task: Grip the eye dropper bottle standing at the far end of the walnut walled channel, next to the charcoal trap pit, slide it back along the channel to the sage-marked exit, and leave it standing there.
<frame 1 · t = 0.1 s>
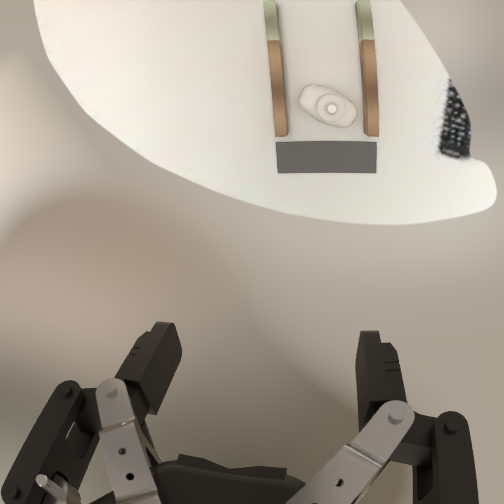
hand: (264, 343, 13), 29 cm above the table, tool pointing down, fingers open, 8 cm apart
walnut channel: (322, 66, 32), on the table
trap pit: (327, 156, 37), on the table
eye dropper bottle: (324, 103, 34), on the table
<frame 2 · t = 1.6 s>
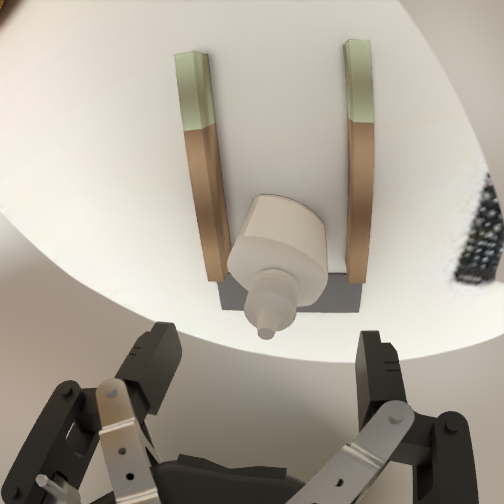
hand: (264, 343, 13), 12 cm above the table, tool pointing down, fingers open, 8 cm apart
walnut channel: (283, 160, 22), on the table
trap pit: (289, 292, 27), on the table
eye dropper bottle: (286, 218, 24), on the table
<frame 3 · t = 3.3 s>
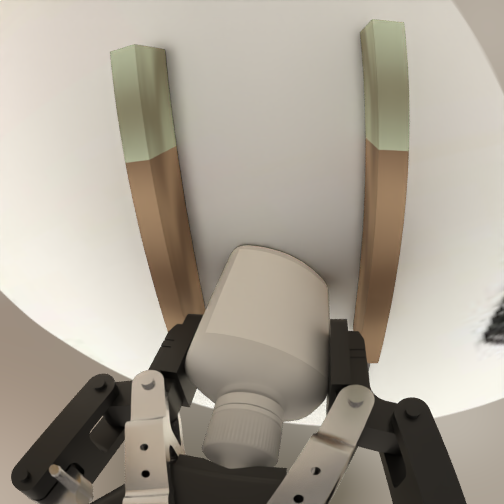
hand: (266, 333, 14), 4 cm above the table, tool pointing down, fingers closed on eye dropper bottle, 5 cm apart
walnut channel: (271, 199, 16), on the table
eye dropper bottle: (277, 275, 18), on the table, touching gripper
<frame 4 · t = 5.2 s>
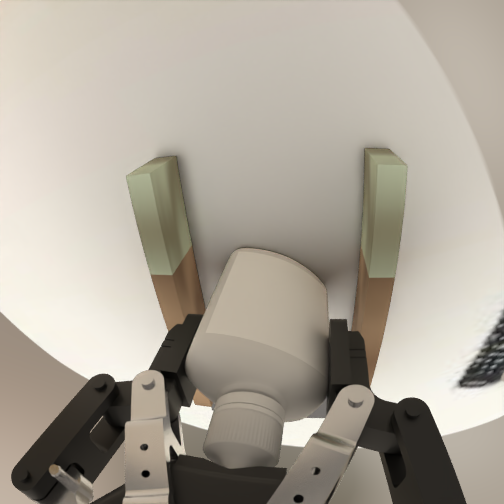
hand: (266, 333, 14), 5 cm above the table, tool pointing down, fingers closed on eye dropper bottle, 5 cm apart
walnut channel: (276, 291, 18), on the table
eye dropper bottle: (275, 278, 18), on the table, touching gripper
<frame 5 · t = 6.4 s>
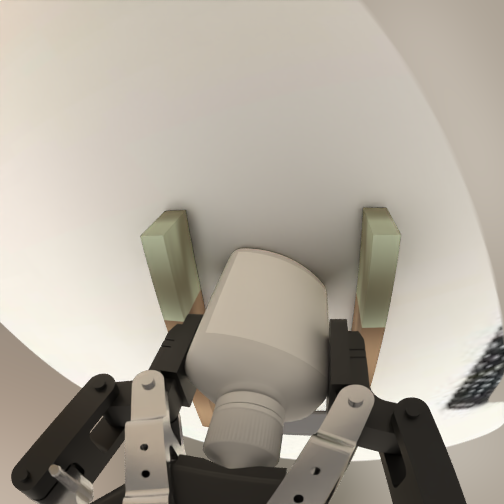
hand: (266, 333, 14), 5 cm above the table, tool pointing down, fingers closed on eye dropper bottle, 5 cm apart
walnut channel: (278, 330, 20), on the table
trap pit: (282, 421, 25), on the table
eye dropper bottle: (275, 278, 18), on the table, touching gripper
when the fingers open (5 cm above the table, at t = 7.0 s): eye dropper bottle stays where it is, on the table.
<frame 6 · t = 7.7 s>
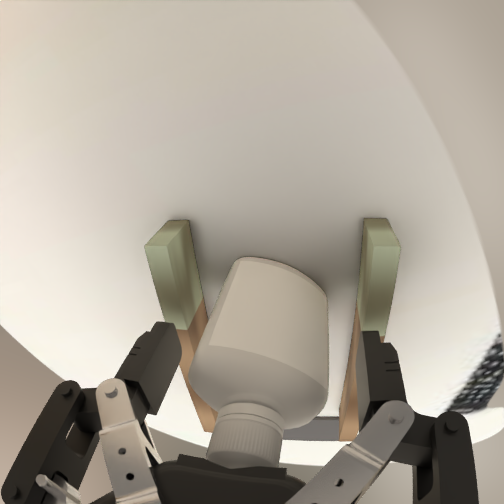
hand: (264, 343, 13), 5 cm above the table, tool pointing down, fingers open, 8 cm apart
walnut channel: (280, 337, 20), on the table
trap pit: (283, 426, 25), on the table
eye dropper bottle: (277, 285, 18), on the table
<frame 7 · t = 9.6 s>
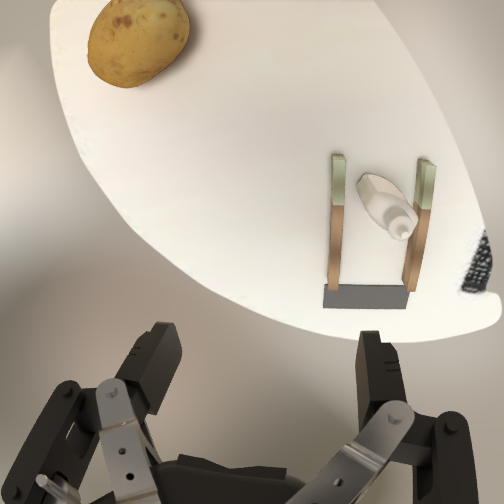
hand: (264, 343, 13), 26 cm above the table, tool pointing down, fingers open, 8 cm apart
potato: (157, 40, 31), on the table
walnut channel: (376, 221, 37), on the table
trap pit: (367, 296, 42), on the table
eye dropper bottle: (378, 190, 35), on the table
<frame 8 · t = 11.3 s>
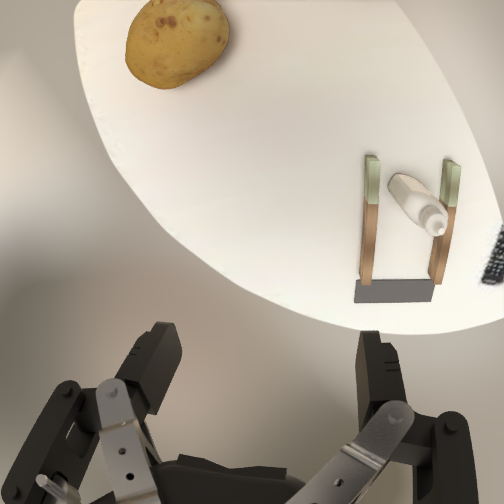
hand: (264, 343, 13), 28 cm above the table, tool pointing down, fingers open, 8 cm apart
potato: (192, 42, 32), on the table
walnut channel: (405, 219, 38), on the table
trap pit: (395, 290, 43), on the table
eye dropper bottle: (407, 189, 36), on the table
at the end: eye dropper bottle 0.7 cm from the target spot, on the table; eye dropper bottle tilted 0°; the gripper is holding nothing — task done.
